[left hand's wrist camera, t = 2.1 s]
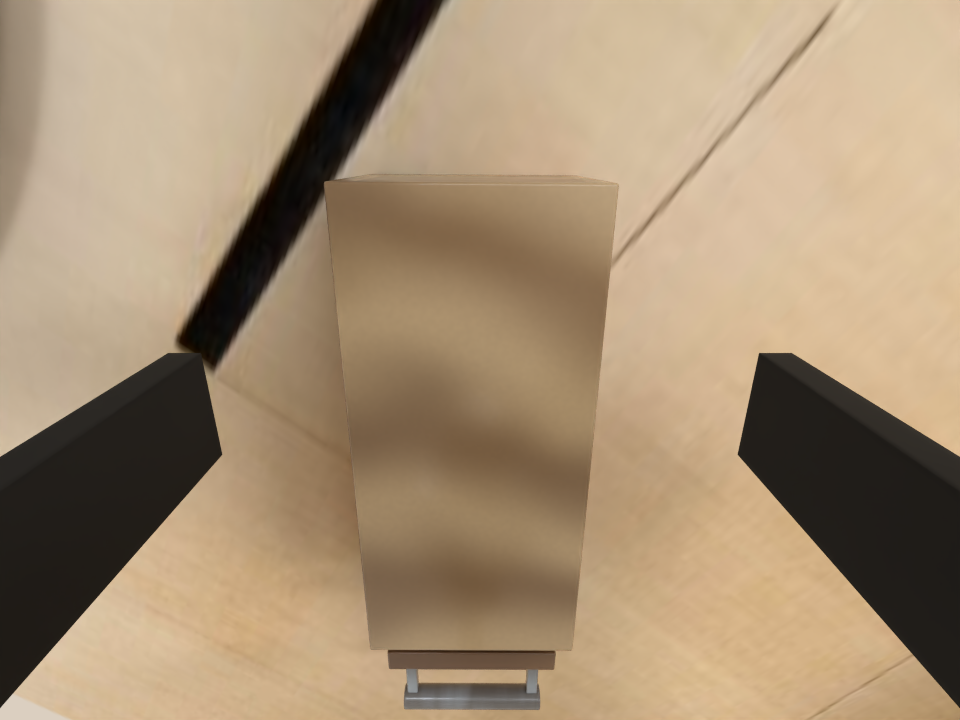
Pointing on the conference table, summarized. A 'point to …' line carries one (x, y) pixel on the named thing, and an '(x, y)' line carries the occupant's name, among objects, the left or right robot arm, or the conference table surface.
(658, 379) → the conference table surface
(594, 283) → the cabinet
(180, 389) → the left robot arm
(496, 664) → the drawer
